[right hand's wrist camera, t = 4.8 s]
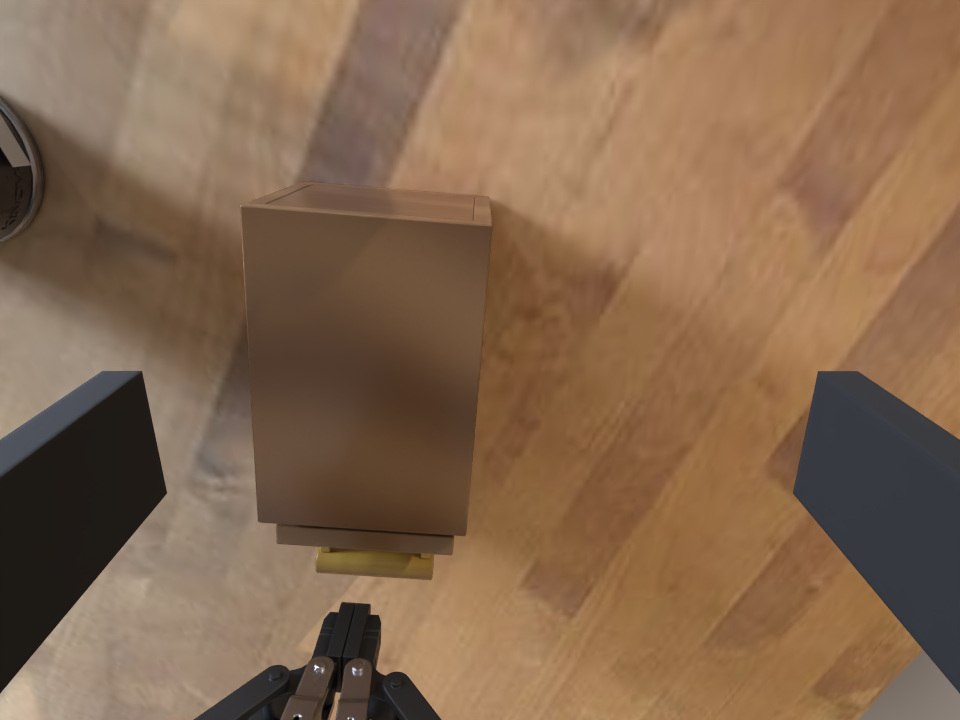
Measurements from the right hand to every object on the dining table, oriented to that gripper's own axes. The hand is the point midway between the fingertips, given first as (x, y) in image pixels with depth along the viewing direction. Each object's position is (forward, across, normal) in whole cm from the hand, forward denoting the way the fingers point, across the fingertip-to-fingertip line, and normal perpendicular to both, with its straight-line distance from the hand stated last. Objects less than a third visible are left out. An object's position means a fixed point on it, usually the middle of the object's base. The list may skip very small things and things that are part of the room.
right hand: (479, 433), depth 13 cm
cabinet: (+26, -5, -6) cm, 27 cm away
